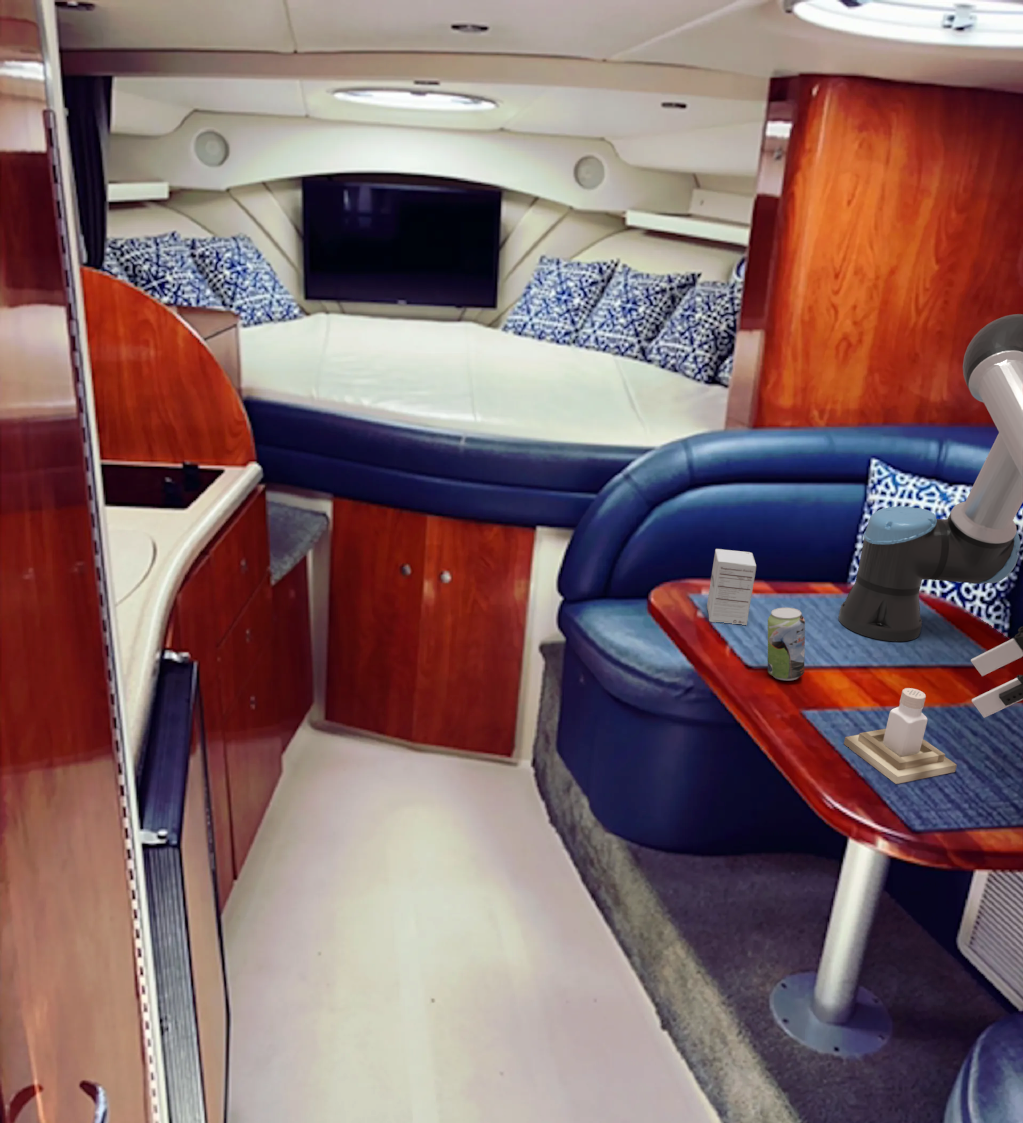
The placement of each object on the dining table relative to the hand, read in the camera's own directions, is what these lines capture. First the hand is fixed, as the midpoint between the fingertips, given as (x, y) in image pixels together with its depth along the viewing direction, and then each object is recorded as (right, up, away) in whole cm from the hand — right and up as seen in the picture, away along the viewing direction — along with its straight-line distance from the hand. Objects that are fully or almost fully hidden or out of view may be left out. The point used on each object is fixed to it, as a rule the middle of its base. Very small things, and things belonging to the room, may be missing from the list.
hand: (976, 687), depth 135 cm
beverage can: (-19, -2, +31) cm, 36 cm away
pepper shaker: (-8, -10, +8) cm, 15 cm away
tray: (-8, -11, +8) cm, 16 cm away
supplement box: (-23, +7, +53) cm, 58 cm away
